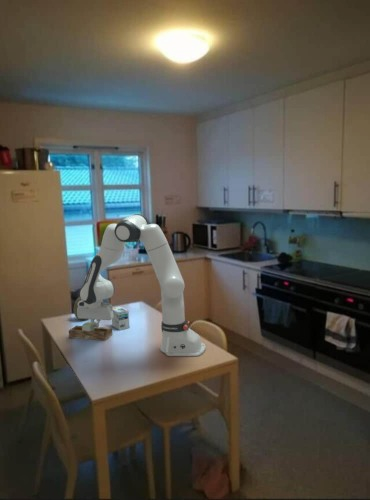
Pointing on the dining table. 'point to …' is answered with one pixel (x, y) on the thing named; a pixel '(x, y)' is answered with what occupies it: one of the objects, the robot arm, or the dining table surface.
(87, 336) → the beam
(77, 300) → the decorative egg
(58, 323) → the dining table surface
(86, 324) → the block
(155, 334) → the dining table surface
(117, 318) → the light bulb box
